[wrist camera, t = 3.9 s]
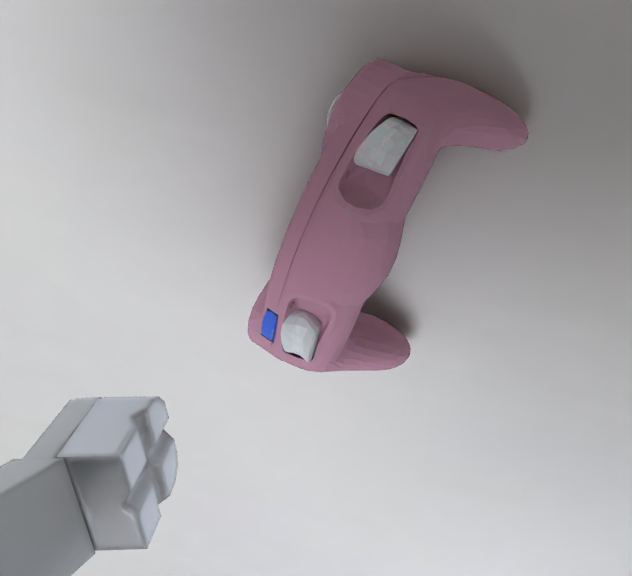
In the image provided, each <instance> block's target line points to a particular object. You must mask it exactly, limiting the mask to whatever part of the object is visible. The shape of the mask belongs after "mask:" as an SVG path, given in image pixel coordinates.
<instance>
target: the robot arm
mask: <svg viewBox="0 0 632 576" xmlns="http://www.w3.org/2000/svg"><path fill="white" fill-rule="evenodd" d="M168 418H169V416H168V413H167V409H166V406H165V402H164V401H163V400H162V399H161V398H160V397H159V396H158V397H104V398H101V397H91V398H76V399H73V400H70V401H69V402H68V403H67V404H66V405H65V407H64V408H63V409H62V410H61V412H60V413H59V414H58V415H57V417H56V418H55V419H54V420H53V422H52V423H51V424H50V425H49V427H48V428H47V429H46V430H45V432H44V433H43V434H42V435H41V437H40V438H39V439H38V440H37V441H36V443H35V444H34V445H33V446H32V448H31V449H30V450H29V451H28V453H27V454H26V455H25V456H24V458H23V459H13V460H11V461H9V462H7V463H6V464H4V465H2V466H0V576H71V575H72V574H73V573H74V572H75V571H76V570H78V569H79V568H80V567H81V566H82V565H83V564H84V563H85V562H86V561H87V560H88V559H90V558H91V557H92V556H93V555H94V554H95V550H124V549H147V548H148V545H149V543H150V541H151V538H152V536H153V534H154V531H155V529H156V527H157V525H158V522H159V520H160V518H161V514H160V510H159V506H158V504H160V503H161V502H162V501H163V500H165V499H166V498H167V497H169V496H170V494H171V492H172V489H173V487H174V484H175V480H176V473H177V467H178V462H177V450H176V445H175V441H174V439H173V438H172V437H171V436H170V435H169V434H168V433H167V432H166V431H165V430H164V427H165V425H166V423H167V420H168Z"/></svg>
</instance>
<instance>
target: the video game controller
mask: <svg viewBox="0 0 632 576" xmlns="http://www.w3.org/2000/svg"><path fill="white" fill-rule="evenodd" d="M528 134H529V133H528V129H527V126H526V124H525V122H524V121H523V119H522V118H521V117H520V116H519V115H518V114H517V113H516V112H515V111H513V110H512V109H511V108H509V107H508V106H506V105H505V104H503V103H502V102H500V101H498V100H497V99H495V98H494V97H492V96H491V95H489V94H487V93H485V92H483V91H480V90H478V89H476V88H473V87H472V86H470V85H468V84H466V83H463V82H460V81H456V80H452V79H448V78H443V77H438V76H433V75H428V74H423V73H418V72H413V71H408V70H405V69H403V68H401V67H399V66H396V65H394V64H392V63H390V62H387V61H385V60H381V59H376V60H373V61H372V62H370V63H368V64H367V65H365V66H364V67H363V68H362V69H361V70H360V71H359V72H358V73H357V74H356V75H355V77H354V78H353V79H352V81H351V82H350V83H349V84H348V86H347V87H346V88H345V90H344V91H343V92H341V93H340V94H339V95H337V97H336V98H335V99H334V101H333V102H332V104H331V106H330V108H329V111H328V115H327V129H326V132H325V136H324V139H323V145H322V156H321V158H320V160H319V162H318V164H317V166H316V168H315V170H314V172H313V174H312V175H311V177H310V179H309V181H308V183H307V185H306V187H305V189H304V191H303V194H302V196H301V198H300V201H299V203H298V205H297V208H296V210H295V212H294V215H293V217H292V219H291V222H290V224H289V226H288V229H287V231H286V234H285V237H284V239H283V242H282V245H281V248H280V250H279V253H278V256H277V259H276V261H275V264H274V268H273V271H272V274H271V278H270V280H269V281H268V283H267V284H266V286H265V287H264V289H263V290H262V292H261V293H260V295H259V296H258V298H257V300H256V302H255V304H254V306H253V308H252V311H251V315H250V318H249V323H248V335H249V338H250V339H251V340H252V341H253V342H254V343H256V344H257V345H259V346H260V347H262V348H263V349H265V350H266V351H268V352H269V353H270V354H272V355H273V356H275V357H276V358H278V359H280V360H282V361H285V362H287V363H289V364H292V365H294V366H296V367H298V368H301V369H304V370H308V371H315V372H328V371H354V370H387V369H392V368H395V367H397V366H399V365H401V364H403V363H404V362H405V361H406V359H407V358H408V357H409V355H410V345H409V342H408V340H407V339H406V337H405V336H404V335H403V334H402V333H400V332H399V331H398V330H397V329H395V328H394V327H392V326H391V325H390V324H389V323H387V322H385V321H383V320H381V319H379V318H377V317H375V316H373V315H370V314H366V313H363V312H360V311H361V309H362V306H363V304H364V302H365V301H366V300H367V299H368V298H369V297H370V296H371V295H372V294H373V293H374V292H375V291H376V290H377V288H378V287H379V286H380V285H381V283H382V282H383V281H384V279H385V278H386V277H387V275H388V273H389V271H390V269H391V268H392V266H393V264H394V262H395V260H396V257H397V253H398V249H399V245H400V241H401V237H402V231H403V226H404V221H405V216H406V214H407V213H408V211H409V209H410V207H411V205H412V203H413V201H414V199H415V197H416V195H417V194H418V192H419V190H420V188H421V186H422V184H423V182H424V180H425V178H426V176H427V174H428V172H429V169H430V167H431V165H432V163H433V161H434V159H435V157H436V155H437V152H438V150H439V149H440V148H441V147H445V146H470V147H476V148H483V149H490V150H496V151H503V150H508V149H512V148H516V147H518V146H521V145H522V144H524V143H525V142H526V140H527V138H528Z"/></svg>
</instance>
